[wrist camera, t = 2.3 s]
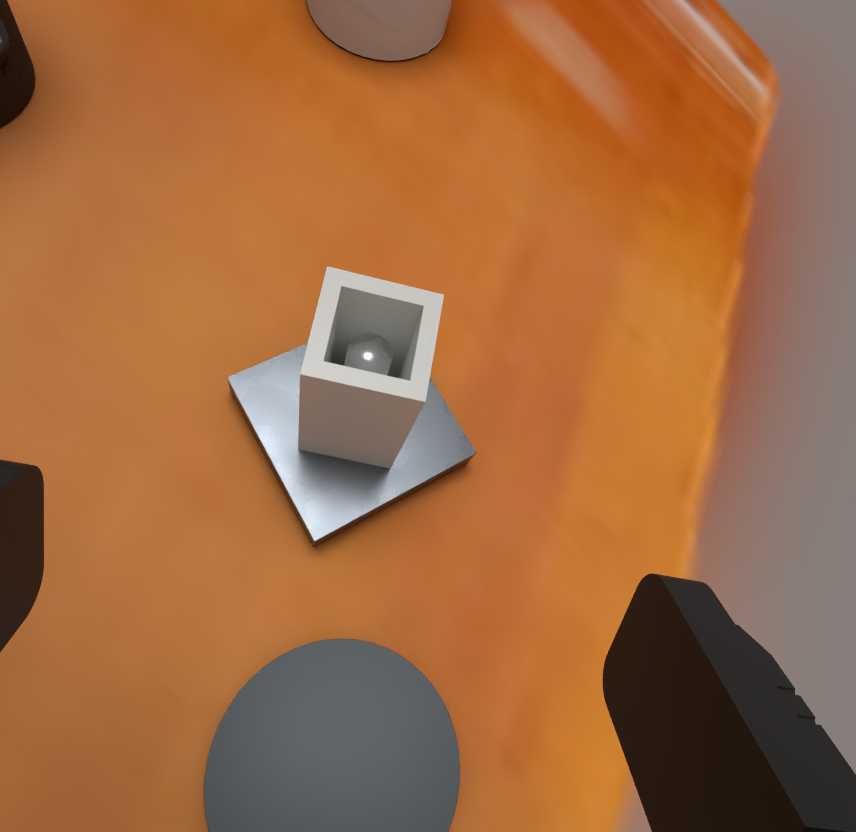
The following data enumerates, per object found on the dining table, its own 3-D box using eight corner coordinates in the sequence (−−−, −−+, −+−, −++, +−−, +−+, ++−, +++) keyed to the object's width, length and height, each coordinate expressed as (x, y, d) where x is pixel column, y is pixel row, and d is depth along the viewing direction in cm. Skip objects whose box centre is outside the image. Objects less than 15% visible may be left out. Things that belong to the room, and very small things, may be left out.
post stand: (313, 547, 35) (320, 508, 26) (230, 391, 37) (209, 303, 28) (467, 462, 38) (522, 401, 29) (383, 324, 40) (410, 225, 31)
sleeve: (390, 468, 35) (425, 402, 26) (298, 449, 34) (299, 374, 25) (406, 384, 37) (443, 295, 28) (318, 365, 36) (327, 266, 27)
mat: (279, 985, 28) (278, 992, 28) (162, 726, 31) (159, 727, 30) (501, 811, 32) (505, 814, 32) (382, 594, 35) (384, 593, 34)
